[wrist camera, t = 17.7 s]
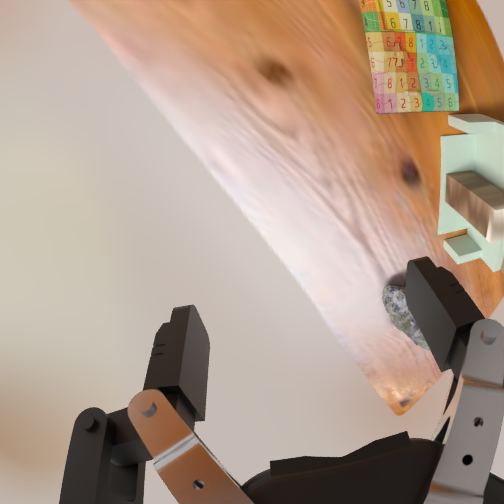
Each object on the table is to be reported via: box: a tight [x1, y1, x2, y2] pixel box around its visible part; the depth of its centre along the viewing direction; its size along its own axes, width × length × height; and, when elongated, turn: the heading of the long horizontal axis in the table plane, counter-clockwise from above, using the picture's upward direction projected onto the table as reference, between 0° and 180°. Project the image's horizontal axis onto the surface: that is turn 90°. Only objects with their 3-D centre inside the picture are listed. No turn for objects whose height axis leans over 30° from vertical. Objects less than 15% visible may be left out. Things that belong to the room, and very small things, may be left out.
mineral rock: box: [382, 285, 430, 350], centre depth 48 cm, size 13×11×10 cm
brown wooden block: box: [445, 170, 504, 243], centre depth 35 cm, size 5×5×12 cm
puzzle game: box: [359, 0, 459, 114], centre depth 28 cm, size 12×5×20 cm
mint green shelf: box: [438, 114, 504, 274], centre depth 36 cm, size 22×9×10 cm, turn 13°
